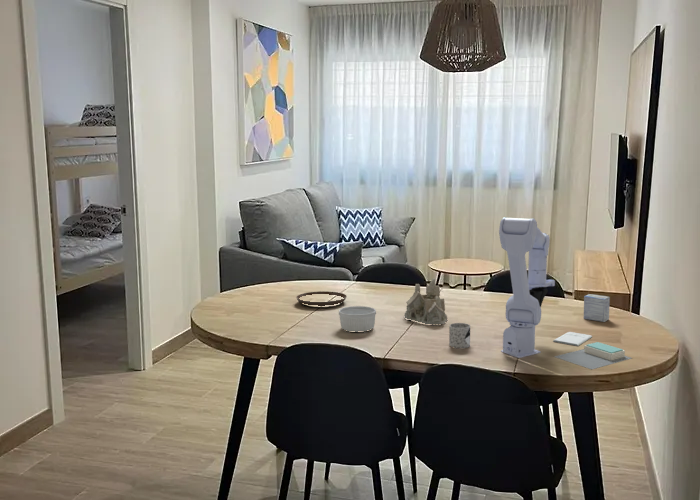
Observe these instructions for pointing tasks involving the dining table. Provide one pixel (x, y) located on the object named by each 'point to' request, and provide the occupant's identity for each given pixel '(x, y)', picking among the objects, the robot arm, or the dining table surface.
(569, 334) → the external hard drive
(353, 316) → the ramekin
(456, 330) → the mug
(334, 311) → the dining table surface
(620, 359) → the mat
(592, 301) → the medicine box
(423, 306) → the ceramic cottage
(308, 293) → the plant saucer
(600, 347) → the slab
